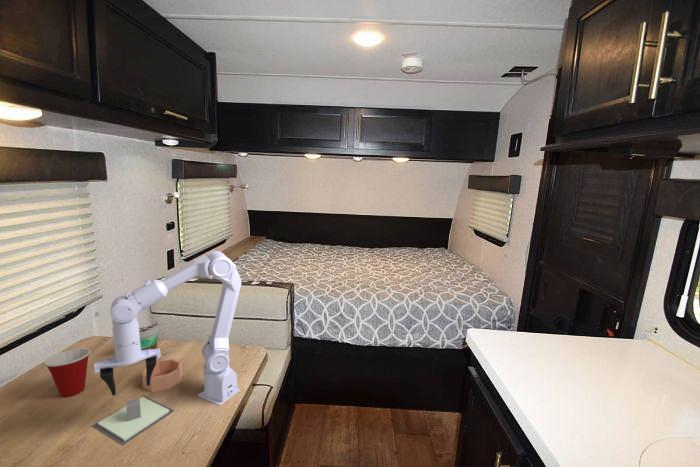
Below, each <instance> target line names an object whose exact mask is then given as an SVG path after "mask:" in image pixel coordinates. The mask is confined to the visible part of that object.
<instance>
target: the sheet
mask: <svg viewBox="0 0 700 467" xmlns="http://www.w3.org/2000/svg"><path fill="white" fill-rule="evenodd" d="M141 397H142V398H141ZM141 397H138V398H135V399H131V400H127V401H126V405H125V406H126V407H125V406H123V407H121V410H120V409H119V411H118V410H117V411H115V412H114V414H113V413H112V415H111V414H110V415H108V416H106V417H107V418H106V417H104V418H105V419H104V418H102V419H101V420H100V422H99V421H98V425H99V426H100V427H102V428H104V429H105V430H107V431H109V432H110V433H112V434H114V435H115V436H117V437H118V438H120V439H122V440H123V441H126V440H127V439H129V438H130V437H132V436H133V435H135V434H136V433H138V432H139V431H141V430H142V429H144V428H145V427H147V426H148V425H150V424H151V423H153V422H154V421H156V420H157V419H159V418H160V417H162V416H163V415H165V414H167V413H168V412H169V410H168V409H166V408H164V407H162V406H160V405H158V404H156V403H154V402H152V401H150V400H148V399H146V398H144V397H143V396H141Z"/></svg>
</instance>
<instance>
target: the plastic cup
mask: <svg viewBox="0 0 700 467" xmlns="http://www.w3.org/2000/svg"><path fill="white" fill-rule="evenodd" d="M91 352H92V351H91V349H90V348H84V347H82V348H74V349H69V350H65V351H63V352H60V353H57V354H54V355H52V356H50V357H48V358H47V359H46V360H44V362H43V365H44V366H46V367H47V369H48V371H49V373H50V374H51V377H52V379H53V382H54V385H55V387H56V388H57V390H58V394H59V395H60V396H61V397H62V398H69V397H73V396H77V395H78V394H80V393H82V392H83V391H84V390H85V388H86V379H87V372H88V363H89V357H90V354H91Z"/></svg>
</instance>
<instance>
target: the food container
mask: <svg viewBox="0 0 700 467" xmlns="http://www.w3.org/2000/svg"><path fill="white" fill-rule="evenodd" d="M159 330H160V325H159V323H158V321H156V322H155V323H154V324H151V325H149V326H145V327H144V326H143V327H139V333H140V344H141V350H151V349H158V332H159Z"/></svg>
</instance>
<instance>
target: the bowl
mask: <svg viewBox="0 0 700 467" xmlns="http://www.w3.org/2000/svg"><path fill="white" fill-rule="evenodd" d="M156 361H157V362H156V366H155V367H154V370H153V372H152V375H151V379H150V385H149V386H147V381H146V366H145V367H144V368H143V372H142V373H141V379H142V380H141V382H142V388H143V389H145V390H147V391H148V392H152V393H154V392H159V391H165V390H169V389H171V388H173V387H174V386H177V385H178V384H180V383H181V382H182V378H183V374H184V373H183V363H182V361H180V360H178V359H176V358H174V357H173V358H165V359H159V360H158V359H157V360H156Z"/></svg>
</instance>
